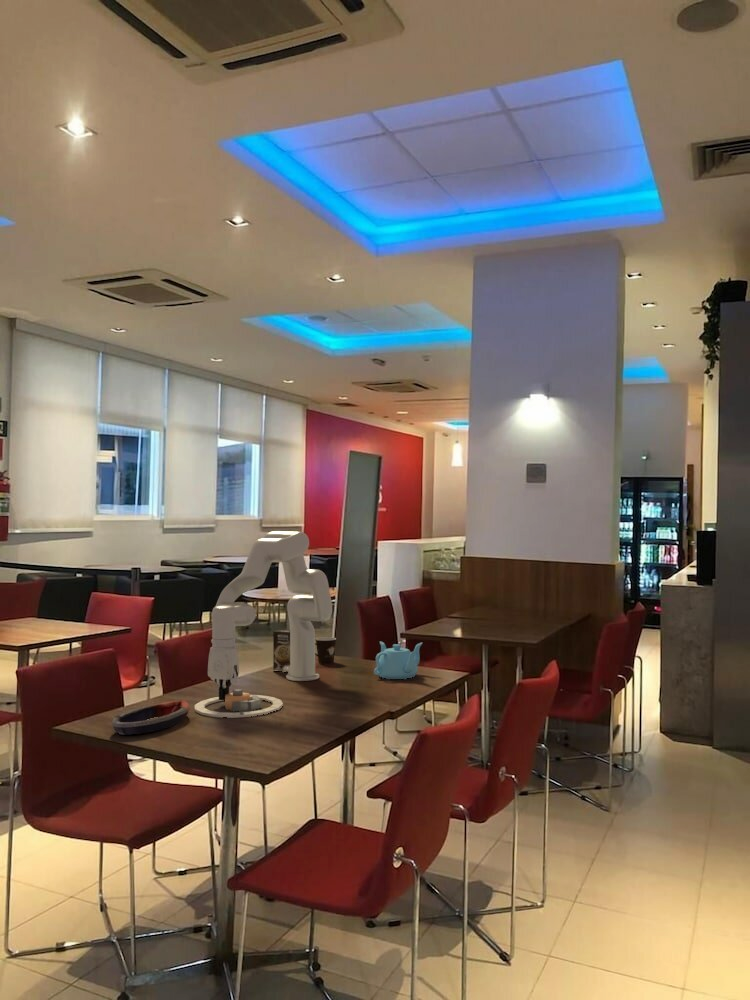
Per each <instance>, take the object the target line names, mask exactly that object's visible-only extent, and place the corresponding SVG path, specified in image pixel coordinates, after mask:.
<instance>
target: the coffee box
mask: <svg viewBox="0 0 750 1000" xmlns="http://www.w3.org/2000/svg"><path fill="white" fill-rule="evenodd" d="M272 632H273V637H272V638H273V641H272V642H273V650H272V651H273V655H272V656H273V657H272V659H273V660H272V662H273V663H272V666H273V670H272V671H274V670H278V671H283V668H284V666H285V665H288V666H290V629H278V630H274V631H272ZM286 672H288V671H286Z"/></svg>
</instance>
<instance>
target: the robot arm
mask: <svg viewBox="0 0 750 1000" xmlns="http://www.w3.org/2000/svg"><path fill="white" fill-rule="evenodd" d="M309 547H310V539H309V536H308V535H307V534H306V533H305V532H302V531H295V530H294V531H292V530H291V531H287V530H283V531H282V530H273V531H270V532H267V533H266V534H265V535H264V537H263V538H258V539H256V540H255V541H254V543H253V544H252V546H251V549H250V551H249V554H248V556H247V559H246V561H245V563H244V566H243V568H242V569H241V570H242V571H241V573H240V574H239V575H238V576H236V577H235V578H234V579H232V581H231V582H229V583H228V584H227V585H226V586H225V587H224V588H223V589H222V591H221V592H220V595H219V597H218V599H217V602H216V604H215V606H214V607H213V608H212V613H211V614H212V618H211V620H212V624H211V629H212V631H211V632H212V635H211V637H212V639H211V640H210V643H211V644H212V646H211V647H210V648H209V653H208V661H207V662H208V664H207V676H208V677H209V678H210V680H211V681H213V682H215V683H216V686H217V688H218V697H219V700H225V695H226V694H229V693H230V687H231V686H232V684H236V683H238V677H239V673H240V671H239V670H240V668H239V667H240V664H239V654H238V653H239V652H238V649H237V647H236V627H238V626H239V627H245V626H249V625H252V623H253V622H254V621H255V619H256V616H257V614H256V613H257V612H256V609H255V608H254V606H253V605H251V604H249V603H241V602H240V603H239V602H235V601H236V600H238V598H239V597H240V596H242V595H243V594H244V593H247V592H248V591H251V590H253V589H256V588H258V587H261V586H262V585H263V584H264V583H265V580H266V578H267V576H268V573H269V571H270V567H271V566H272V563H281V564H282V568H283V574H284V579H285V583H286V587H287V590H288V591H289V593H291V594H297V595H294V596H291V597H290V599H289V600H288V602H287V606H286V607H287V615H288V620H289V630H290V666H288V665H285V666H284V668H283V671H288V673H286V675H285V676H286V677H285V678H286V680H289V681H294V682H304V681H305V682H308V681H315V680H318V679H319V678H320V674H319V673H317V672H316V655H315V653H316V645H315V643H316V630H315V627H314V625H313V622H327V621H328V620H329V619H330V618H331V616H332V614H333V613H332V612H333V602H332V598H331V591H330V586H329V581H328V577H327V575H326V574H325V572H323V571H322V570H320V569H318V568H317V569H315V568H312V569H311V568H308V567H307V565H306V560H305V556H304V555H305V553H307V551H308V550H309Z"/></svg>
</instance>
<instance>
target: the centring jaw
mask: <svg viewBox="0 0 750 1000" xmlns="http://www.w3.org/2000/svg"><path fill="white" fill-rule="evenodd" d="M251 695H252V699H250V701H248V700H246V701H232V710H231V712H232V711H233V712H232V713H235V712H234V711H239V712H241V711H243V712H251V711H253V710H254V711H257V710H256V709H258V710H260V709H259V708H261V709H262V700H261V699H258V698H257V695H258V694H251Z"/></svg>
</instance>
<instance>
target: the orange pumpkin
mask: <svg viewBox="0 0 750 1000" xmlns="http://www.w3.org/2000/svg"><path fill="white" fill-rule="evenodd" d="M243 690H244V689H233V690H232V692H229V694H226V695H225V701H224V702H225V703H224V706H225V707H224V708H225V709H226V708H227V709H226V710H228V709H231V710H230V711H232V701H246V700H248V701H251V699H250V695H251V694H250V693H249V692H244V691H243Z"/></svg>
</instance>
